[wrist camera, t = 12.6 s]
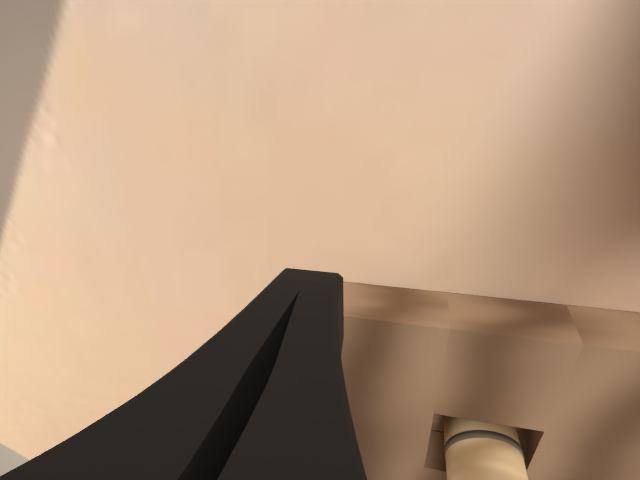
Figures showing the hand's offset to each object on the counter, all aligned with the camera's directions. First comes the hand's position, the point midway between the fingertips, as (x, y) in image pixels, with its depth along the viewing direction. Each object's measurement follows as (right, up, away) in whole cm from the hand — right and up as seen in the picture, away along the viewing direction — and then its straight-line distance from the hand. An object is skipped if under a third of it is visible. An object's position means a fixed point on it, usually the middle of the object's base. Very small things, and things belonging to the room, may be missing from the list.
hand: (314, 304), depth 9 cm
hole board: (+9, -9, +15) cm, 20 cm away
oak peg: (+10, -9, +15) cm, 20 cm away
